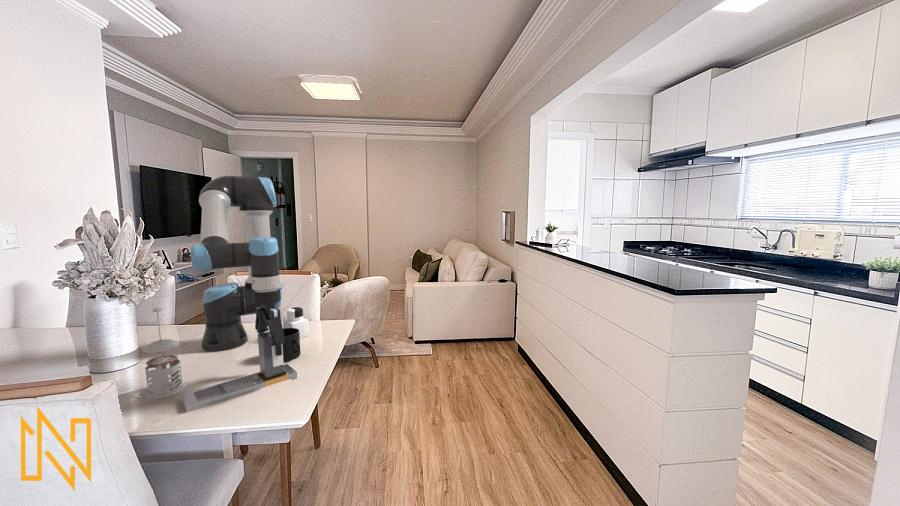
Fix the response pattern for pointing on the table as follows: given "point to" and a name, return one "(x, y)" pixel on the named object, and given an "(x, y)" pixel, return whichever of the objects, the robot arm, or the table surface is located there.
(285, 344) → the mug
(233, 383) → the rail
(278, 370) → the graphite post
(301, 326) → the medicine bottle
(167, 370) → the french press
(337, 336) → the table surface
